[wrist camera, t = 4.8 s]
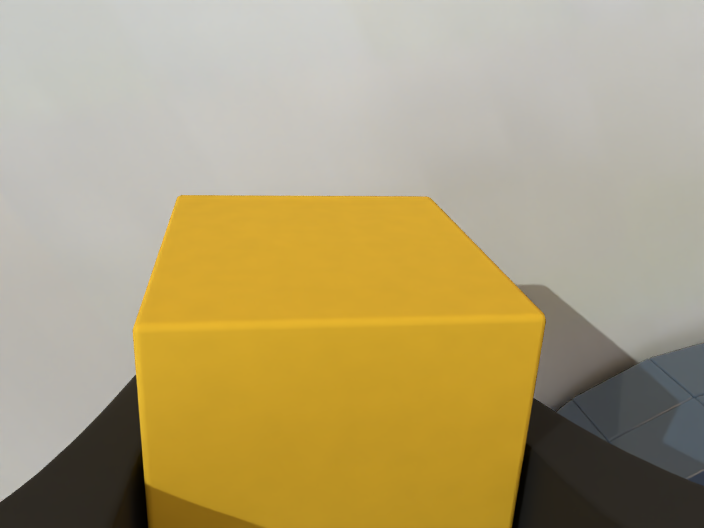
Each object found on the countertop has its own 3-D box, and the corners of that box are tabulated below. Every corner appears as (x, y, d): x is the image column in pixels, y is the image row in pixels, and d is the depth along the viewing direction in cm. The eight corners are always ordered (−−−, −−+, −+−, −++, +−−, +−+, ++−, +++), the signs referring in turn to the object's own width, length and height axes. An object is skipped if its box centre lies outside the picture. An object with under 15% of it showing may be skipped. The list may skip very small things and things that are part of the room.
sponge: (431, 195, 12) (550, 315, 7) (402, 510, 14) (477, 749, 10) (176, 194, 11) (129, 324, 7) (192, 525, 14) (167, 790, 9)
